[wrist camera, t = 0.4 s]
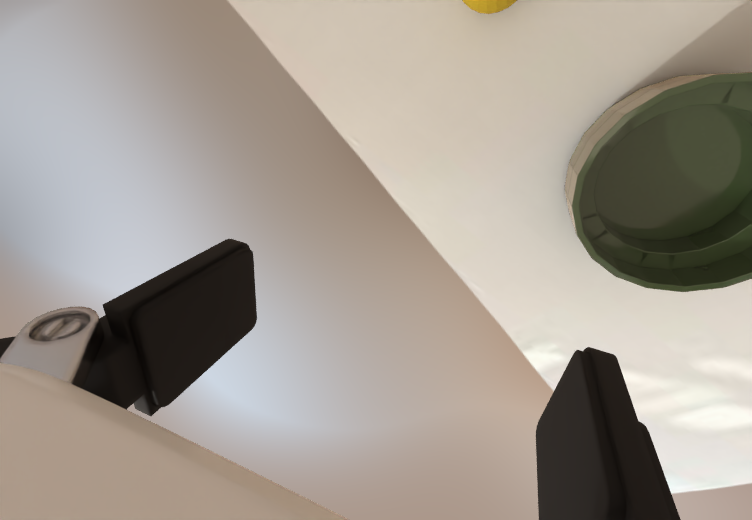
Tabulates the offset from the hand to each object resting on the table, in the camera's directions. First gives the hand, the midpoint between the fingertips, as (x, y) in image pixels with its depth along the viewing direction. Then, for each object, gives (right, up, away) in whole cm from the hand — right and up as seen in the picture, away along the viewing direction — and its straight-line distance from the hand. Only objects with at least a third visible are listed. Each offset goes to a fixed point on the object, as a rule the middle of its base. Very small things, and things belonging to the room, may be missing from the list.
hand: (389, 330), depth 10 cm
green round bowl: (+24, +9, +20) cm, 32 cm away
